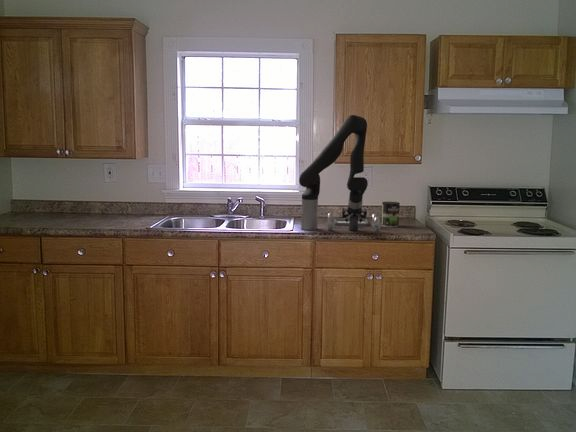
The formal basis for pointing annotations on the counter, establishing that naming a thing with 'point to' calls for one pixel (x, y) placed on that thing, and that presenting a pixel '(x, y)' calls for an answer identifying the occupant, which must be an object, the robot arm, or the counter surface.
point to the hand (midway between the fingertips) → (353, 221)
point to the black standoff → (353, 223)
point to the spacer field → (374, 222)
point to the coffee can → (390, 214)
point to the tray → (343, 223)
